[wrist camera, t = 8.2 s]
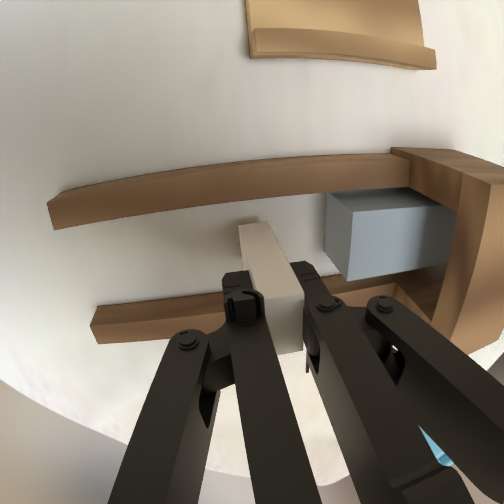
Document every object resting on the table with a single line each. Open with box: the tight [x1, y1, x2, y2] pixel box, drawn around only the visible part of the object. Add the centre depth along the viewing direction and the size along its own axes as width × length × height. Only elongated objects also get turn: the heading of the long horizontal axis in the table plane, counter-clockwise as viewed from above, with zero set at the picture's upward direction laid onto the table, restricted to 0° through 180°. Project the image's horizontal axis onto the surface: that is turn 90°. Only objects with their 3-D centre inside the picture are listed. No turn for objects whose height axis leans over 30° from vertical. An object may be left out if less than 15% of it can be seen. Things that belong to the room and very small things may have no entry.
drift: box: [324, 187, 458, 281], centre depth 17 cm, size 12×4×4 cm, turn 94°
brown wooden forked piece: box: [47, 147, 504, 355], centre depth 14 cm, size 10×24×8 cm, turn 94°
